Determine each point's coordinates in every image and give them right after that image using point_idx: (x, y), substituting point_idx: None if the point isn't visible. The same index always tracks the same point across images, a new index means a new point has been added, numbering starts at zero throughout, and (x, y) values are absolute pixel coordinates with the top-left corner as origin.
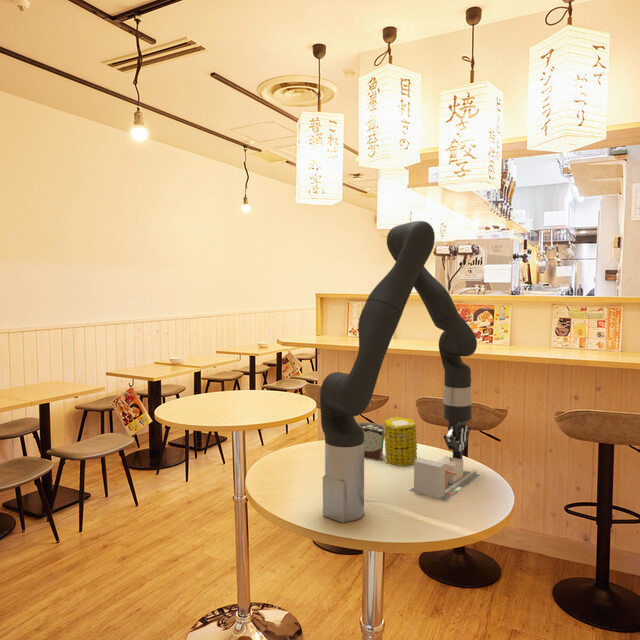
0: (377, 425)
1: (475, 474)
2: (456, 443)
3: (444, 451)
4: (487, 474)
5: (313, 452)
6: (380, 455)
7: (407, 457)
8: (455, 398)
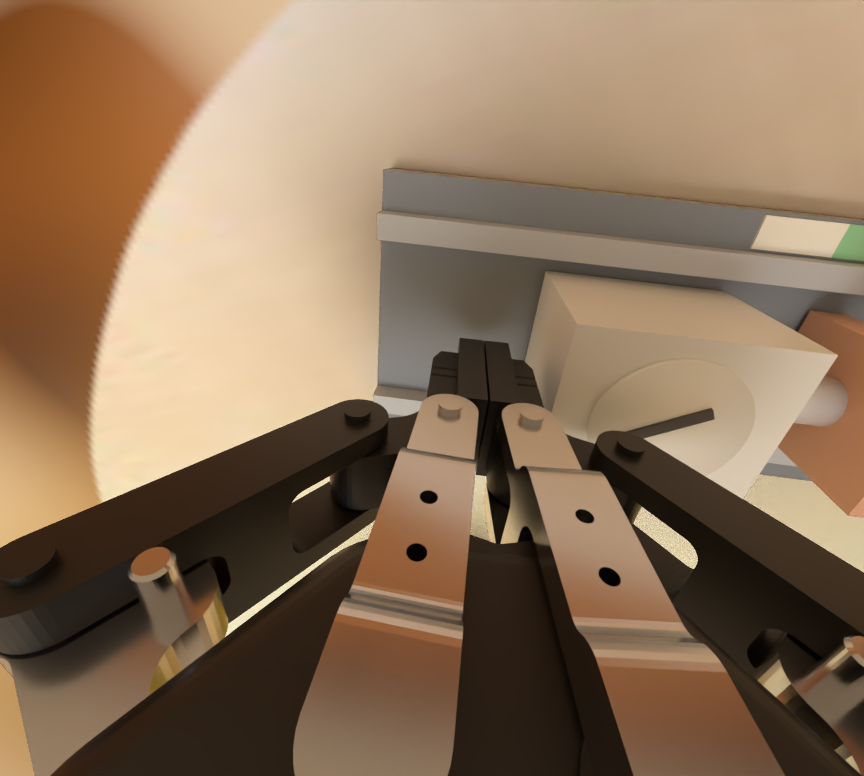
0: None
1: (404, 209)
2: (717, 527)
3: (105, 490)
4: (242, 153)
5: None
6: None
7: None
8: None
